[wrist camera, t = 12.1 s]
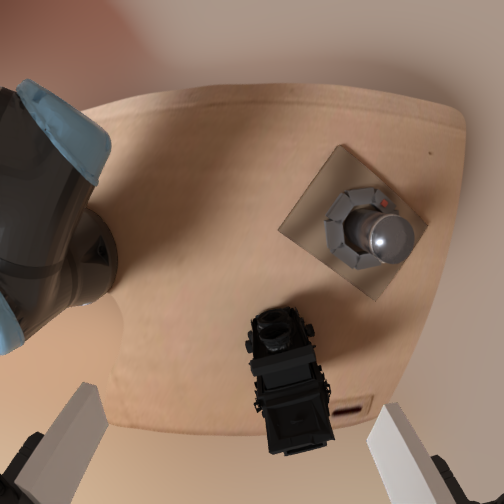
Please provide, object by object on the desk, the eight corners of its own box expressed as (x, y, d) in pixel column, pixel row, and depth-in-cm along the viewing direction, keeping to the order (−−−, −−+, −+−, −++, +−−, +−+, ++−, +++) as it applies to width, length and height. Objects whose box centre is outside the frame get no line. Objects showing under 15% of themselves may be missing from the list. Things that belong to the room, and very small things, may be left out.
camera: (302, 290, 40) (345, 376, 20) (319, 364, 43) (354, 460, 23) (234, 308, 40) (223, 406, 21) (259, 380, 43) (265, 481, 24)
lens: (344, 206, 36) (376, 213, 26) (379, 209, 36) (417, 217, 26) (341, 247, 37) (370, 267, 27) (375, 248, 37) (411, 268, 28)
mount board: (277, 229, 38) (280, 233, 35) (336, 146, 35) (344, 142, 32) (372, 298, 40) (380, 306, 37) (423, 224, 38) (434, 227, 35)
